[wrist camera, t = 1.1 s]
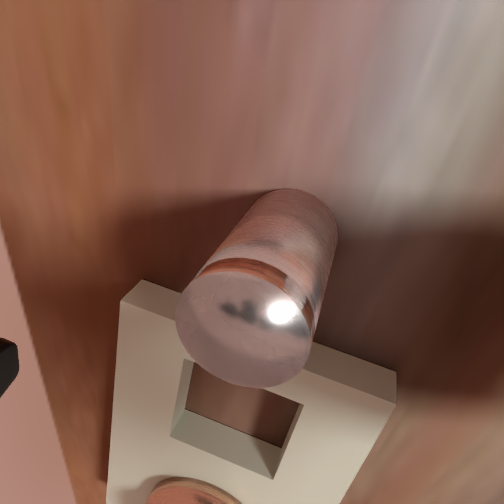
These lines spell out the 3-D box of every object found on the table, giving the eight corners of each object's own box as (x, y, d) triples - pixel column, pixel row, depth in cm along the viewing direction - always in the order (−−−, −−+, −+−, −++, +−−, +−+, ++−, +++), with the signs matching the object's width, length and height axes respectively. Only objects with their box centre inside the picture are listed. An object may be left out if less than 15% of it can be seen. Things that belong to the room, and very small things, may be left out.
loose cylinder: (351, 205, 17) (329, 302, 11) (321, 287, 19) (289, 406, 13) (256, 175, 17) (184, 251, 11) (237, 257, 19) (167, 358, 13)
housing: (396, 371, 19) (397, 404, 18) (294, 558, 28) (288, 592, 27) (141, 279, 21) (120, 300, 20) (121, 482, 30) (105, 508, 29)
